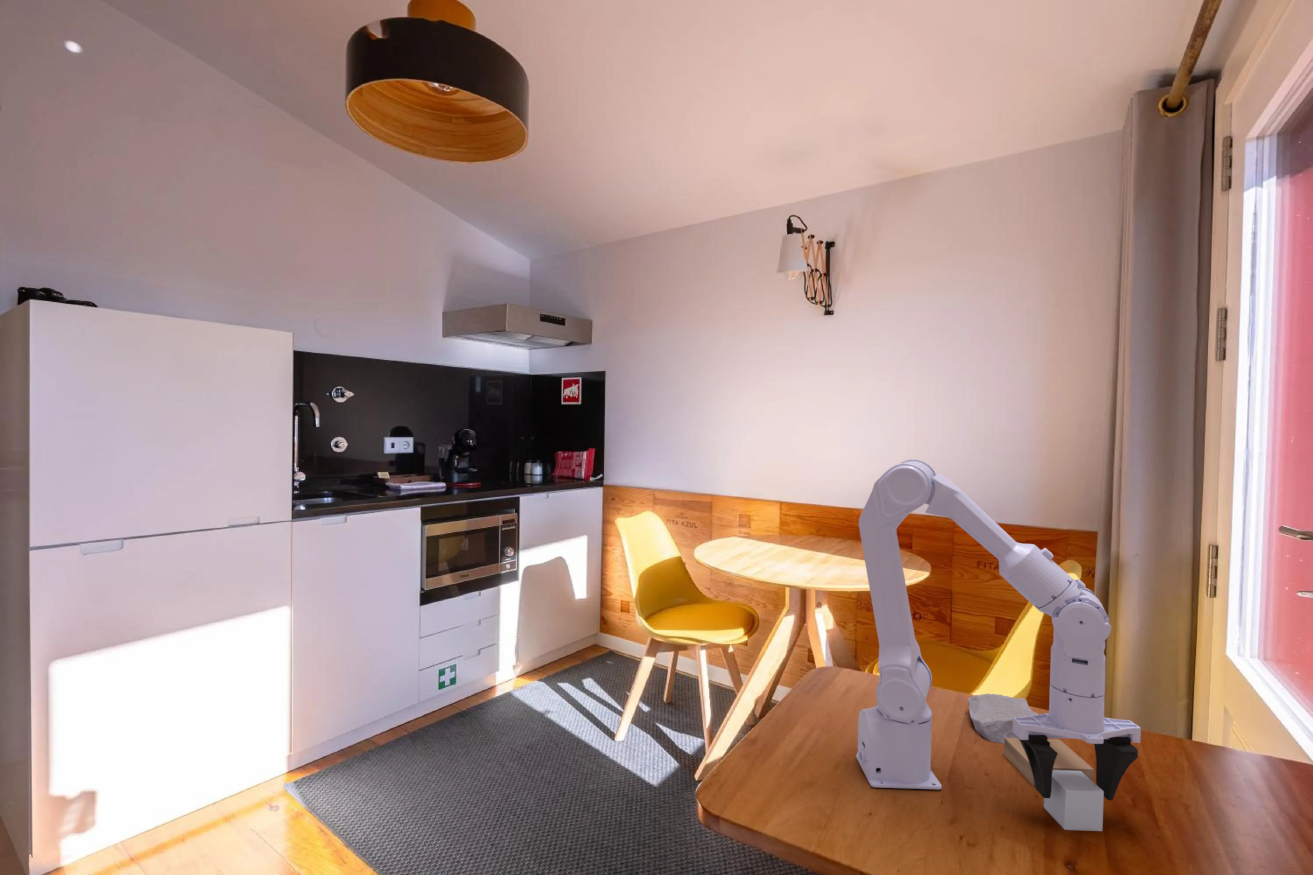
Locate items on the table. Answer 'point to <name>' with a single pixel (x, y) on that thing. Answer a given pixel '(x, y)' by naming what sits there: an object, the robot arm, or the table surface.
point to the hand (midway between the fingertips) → (1073, 794)
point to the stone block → (997, 715)
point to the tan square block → (1062, 762)
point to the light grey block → (1075, 801)
